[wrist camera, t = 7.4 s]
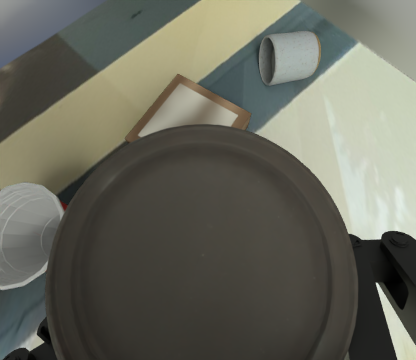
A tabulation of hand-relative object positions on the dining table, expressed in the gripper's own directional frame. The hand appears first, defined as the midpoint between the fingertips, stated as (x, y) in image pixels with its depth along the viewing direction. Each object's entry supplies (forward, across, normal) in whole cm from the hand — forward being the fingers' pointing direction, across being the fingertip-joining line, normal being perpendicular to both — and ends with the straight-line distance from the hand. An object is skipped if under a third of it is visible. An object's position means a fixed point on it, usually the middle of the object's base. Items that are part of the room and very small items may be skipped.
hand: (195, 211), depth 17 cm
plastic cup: (+17, -19, -10) cm, 27 cm away
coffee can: (+2, 0, -6) cm, 6 cm away
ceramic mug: (+31, +21, +4) cm, 38 cm away
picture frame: (+24, +2, -2) cm, 25 cm away
